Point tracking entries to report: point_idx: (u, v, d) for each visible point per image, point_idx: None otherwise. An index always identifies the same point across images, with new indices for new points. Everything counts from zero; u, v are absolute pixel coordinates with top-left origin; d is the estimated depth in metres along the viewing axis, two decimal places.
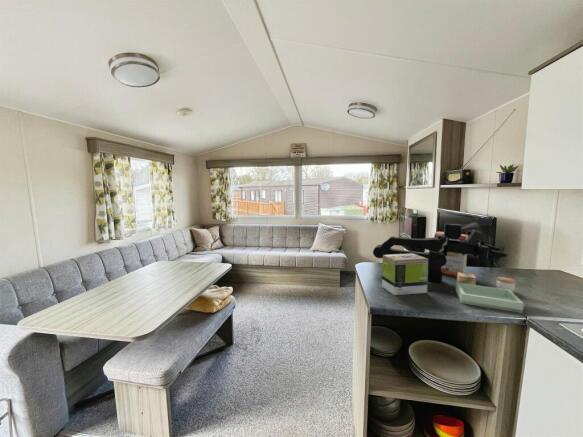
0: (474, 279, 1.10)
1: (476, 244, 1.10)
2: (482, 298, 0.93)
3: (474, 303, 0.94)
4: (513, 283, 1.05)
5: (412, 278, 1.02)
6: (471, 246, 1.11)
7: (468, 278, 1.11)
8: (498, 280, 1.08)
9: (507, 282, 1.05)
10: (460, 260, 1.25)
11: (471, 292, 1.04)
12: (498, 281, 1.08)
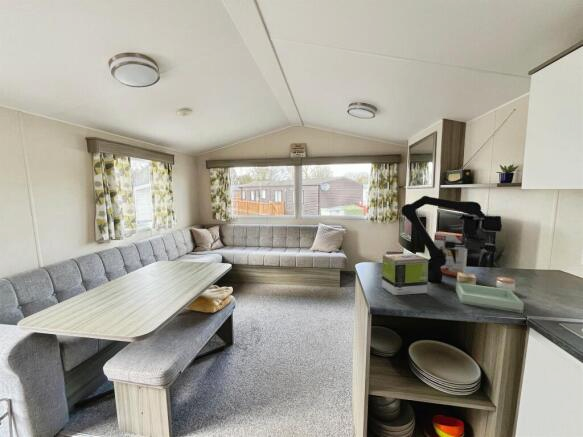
0: (474, 279, 1.10)
1: (462, 242, 1.11)
2: (482, 298, 0.93)
3: (474, 303, 0.94)
4: (513, 283, 1.05)
5: (412, 278, 1.02)
6: None
7: (468, 278, 1.11)
8: (498, 280, 1.08)
9: (507, 282, 1.05)
10: (460, 260, 1.25)
11: (471, 292, 1.04)
12: (498, 281, 1.08)
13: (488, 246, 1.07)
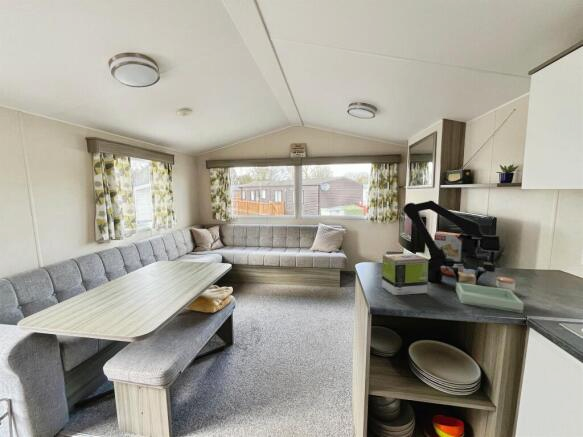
0: (474, 279, 1.10)
1: (461, 261, 1.12)
2: (482, 298, 0.93)
3: (474, 303, 0.94)
4: (513, 283, 1.05)
5: (412, 278, 1.02)
6: None
7: (468, 278, 1.11)
8: (498, 280, 1.08)
9: (507, 282, 1.05)
10: None
11: (471, 292, 1.04)
12: (498, 281, 1.08)
13: (486, 266, 1.08)
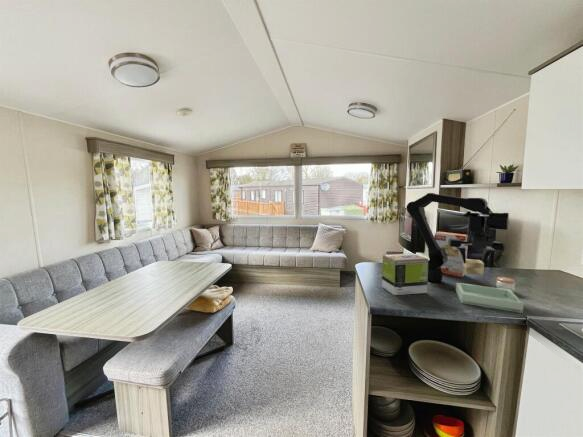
0: (482, 265, 1.05)
1: (468, 241, 1.06)
2: (482, 298, 0.93)
3: (474, 303, 0.94)
4: (513, 283, 1.05)
5: (412, 278, 1.02)
6: None
7: (476, 264, 1.06)
8: (498, 280, 1.08)
9: (507, 282, 1.05)
10: (460, 260, 1.25)
11: (471, 292, 1.04)
12: (498, 281, 1.08)
13: (495, 244, 1.03)
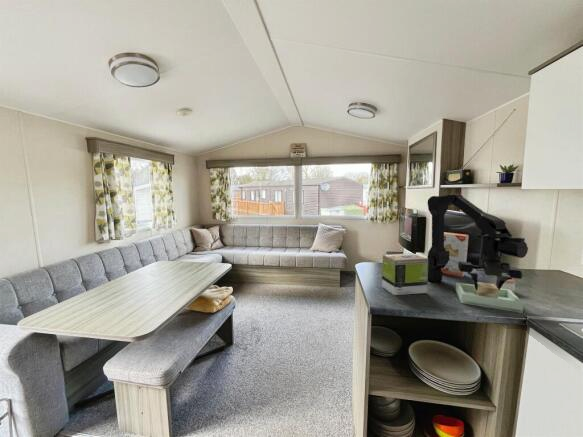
0: (496, 290, 0.94)
1: (481, 266, 0.96)
2: (482, 298, 0.93)
3: (474, 303, 0.94)
4: (513, 283, 1.05)
5: (412, 278, 1.02)
6: None
7: (489, 289, 0.95)
8: None
9: (507, 282, 1.05)
10: (460, 260, 1.25)
11: (471, 292, 1.04)
12: None
13: (512, 271, 0.92)
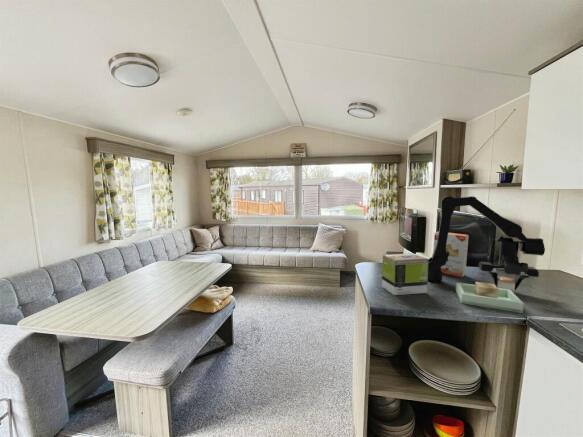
0: (496, 290, 0.94)
1: (500, 265, 1.06)
2: (482, 298, 0.93)
3: (474, 303, 0.94)
4: (513, 283, 1.05)
5: (412, 278, 1.02)
6: None
7: (489, 289, 0.95)
8: (498, 280, 1.08)
9: (507, 282, 1.05)
10: (460, 260, 1.25)
11: (471, 292, 1.04)
12: (498, 281, 1.08)
13: (529, 270, 1.02)
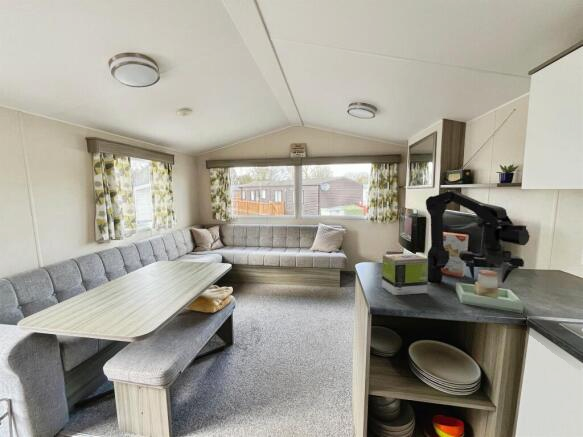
0: (496, 290, 0.94)
1: (482, 255, 0.95)
2: (482, 298, 0.93)
3: (474, 303, 0.94)
4: (495, 276, 0.94)
5: (412, 278, 1.02)
6: None
7: (489, 289, 0.95)
8: (479, 273, 0.97)
9: (489, 275, 0.95)
10: (460, 260, 1.25)
11: (471, 292, 1.04)
12: (479, 274, 0.97)
13: (513, 259, 0.91)
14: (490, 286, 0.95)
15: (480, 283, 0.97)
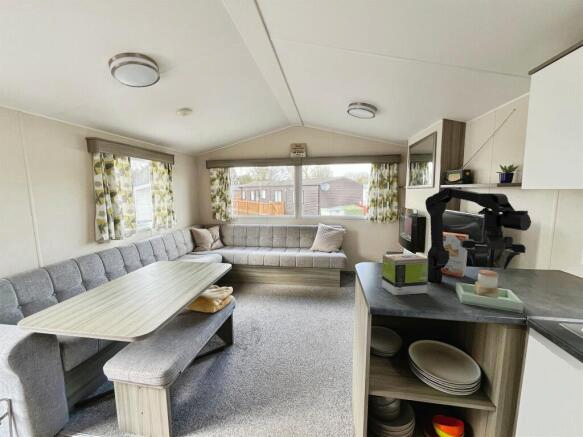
0: (496, 290, 0.94)
1: (483, 241, 0.95)
2: (482, 298, 0.93)
3: (474, 303, 0.94)
4: (495, 276, 0.94)
5: (412, 278, 1.02)
6: None
7: (489, 289, 0.95)
8: (479, 273, 0.98)
9: (489, 275, 0.95)
10: (460, 260, 1.25)
11: (471, 292, 1.04)
12: (479, 274, 0.98)
13: (515, 246, 0.91)
14: (490, 286, 0.95)
15: (480, 283, 0.97)
